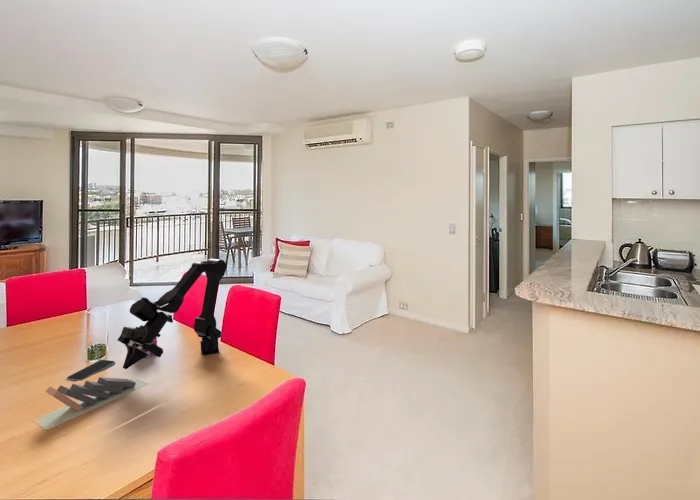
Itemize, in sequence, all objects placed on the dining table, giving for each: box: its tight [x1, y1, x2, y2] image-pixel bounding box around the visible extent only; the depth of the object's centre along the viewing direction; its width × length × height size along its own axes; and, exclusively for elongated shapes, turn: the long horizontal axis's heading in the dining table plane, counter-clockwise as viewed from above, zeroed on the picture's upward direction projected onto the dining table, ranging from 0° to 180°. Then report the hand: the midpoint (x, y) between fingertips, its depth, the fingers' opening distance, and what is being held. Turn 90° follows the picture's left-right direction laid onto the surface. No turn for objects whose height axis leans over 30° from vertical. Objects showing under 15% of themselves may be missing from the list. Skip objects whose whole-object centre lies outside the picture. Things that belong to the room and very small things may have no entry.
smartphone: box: [66, 359, 116, 382], centre depth 140 cm, size 7×1×15 cm
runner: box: [36, 377, 150, 431], centre depth 119 cm, size 30×9×1 cm, turn 150°
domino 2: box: [56, 385, 97, 405], centre depth 114 cm, size 2×5×10 cm
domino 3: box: [69, 383, 110, 399], centre depth 118 cm, size 2×5×10 cm
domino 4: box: [83, 380, 124, 393], centre depth 121 cm, size 2×5×10 cm
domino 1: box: [45, 386, 83, 412], centre depth 111 cm, size 2×5×10 cm
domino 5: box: [97, 376, 136, 387], centre depth 125 cm, size 2×5×10 cm
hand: (124, 368), depth 126 cm, fingers closed
